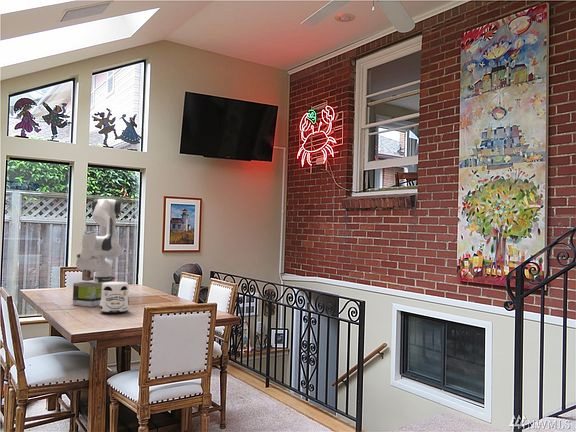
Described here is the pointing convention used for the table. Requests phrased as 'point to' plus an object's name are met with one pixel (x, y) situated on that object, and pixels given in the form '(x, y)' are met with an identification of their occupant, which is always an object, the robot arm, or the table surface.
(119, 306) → the milk container
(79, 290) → the tea box
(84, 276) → the walnut block
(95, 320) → the table surface
